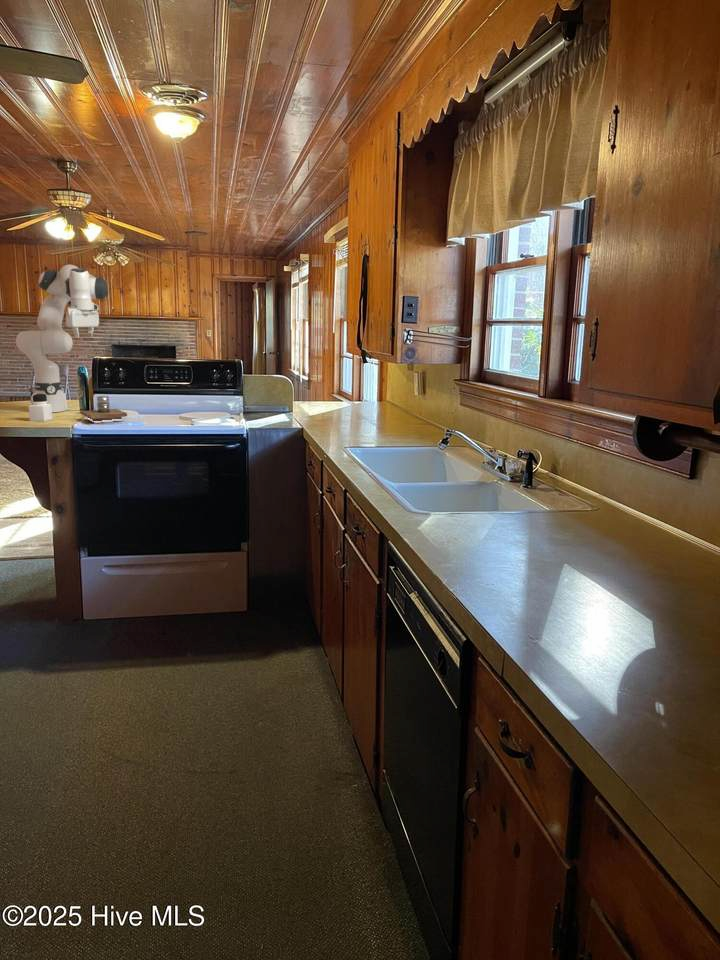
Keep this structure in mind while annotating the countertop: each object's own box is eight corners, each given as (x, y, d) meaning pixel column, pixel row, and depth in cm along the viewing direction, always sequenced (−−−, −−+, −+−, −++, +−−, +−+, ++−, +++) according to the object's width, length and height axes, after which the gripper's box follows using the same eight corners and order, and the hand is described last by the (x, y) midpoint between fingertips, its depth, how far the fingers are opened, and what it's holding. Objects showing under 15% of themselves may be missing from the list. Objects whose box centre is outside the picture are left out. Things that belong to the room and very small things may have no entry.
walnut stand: (81, 419, 324) (81, 411, 323) (117, 417, 332) (116, 408, 332) (91, 424, 311) (90, 415, 310) (127, 421, 320) (127, 413, 319)
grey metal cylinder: (95, 412, 320) (93, 396, 318) (104, 410, 324) (103, 395, 323) (102, 413, 317) (101, 397, 316) (112, 411, 322) (111, 396, 320)
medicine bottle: (52, 419, 323) (50, 393, 320) (44, 421, 316) (42, 395, 314) (38, 418, 324) (35, 392, 321) (29, 421, 317) (27, 394, 314)
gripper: (73, 305, 305) (76, 338, 308) (100, 306, 324) (102, 336, 328) (60, 305, 306) (63, 337, 310) (88, 306, 326) (90, 336, 329)
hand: (83, 337), depth 319 cm, fingers open, 8 cm apart
